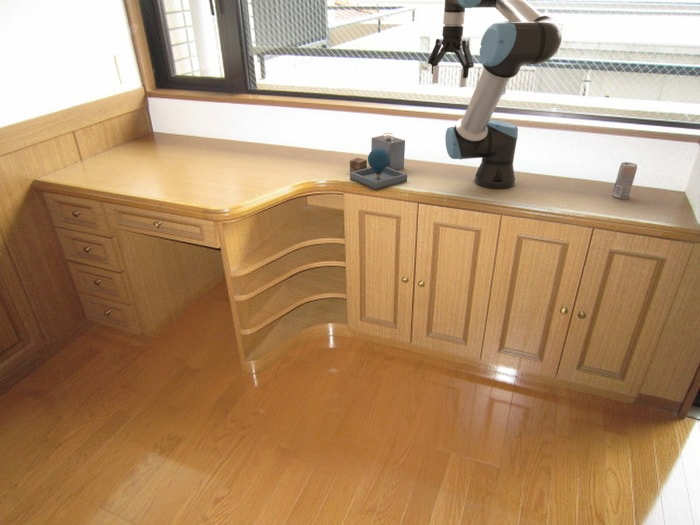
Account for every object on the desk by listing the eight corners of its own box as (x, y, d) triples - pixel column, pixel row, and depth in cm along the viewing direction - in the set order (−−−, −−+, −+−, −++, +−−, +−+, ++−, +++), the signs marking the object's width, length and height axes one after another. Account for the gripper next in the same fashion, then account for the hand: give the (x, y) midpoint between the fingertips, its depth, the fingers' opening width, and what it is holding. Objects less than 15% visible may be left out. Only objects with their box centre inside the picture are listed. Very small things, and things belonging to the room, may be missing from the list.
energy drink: (623, 193, 179) (632, 162, 174) (631, 199, 175) (640, 166, 169) (609, 194, 179) (617, 162, 173) (616, 199, 174) (625, 166, 169)
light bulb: (389, 175, 197) (389, 145, 191) (388, 182, 189) (389, 151, 184) (368, 175, 198) (368, 145, 192) (367, 182, 190) (366, 151, 185)
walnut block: (366, 171, 205) (366, 159, 202) (359, 174, 201) (359, 162, 199) (357, 169, 207) (357, 157, 205) (349, 172, 204) (349, 160, 201)
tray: (406, 181, 193) (407, 174, 191) (375, 190, 184) (376, 182, 183) (380, 171, 204) (380, 164, 202) (350, 179, 195) (349, 172, 194)
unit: (403, 168, 207) (405, 135, 201) (389, 172, 203) (390, 138, 196) (384, 162, 216) (385, 130, 209) (370, 165, 212) (371, 132, 205)
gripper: (487, 25, 177) (480, 87, 187) (433, 24, 193) (430, 80, 203) (475, 26, 173) (468, 89, 183) (421, 24, 189) (418, 82, 199)
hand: (448, 85), depth 193 cm, fingers open, 13 cm apart
